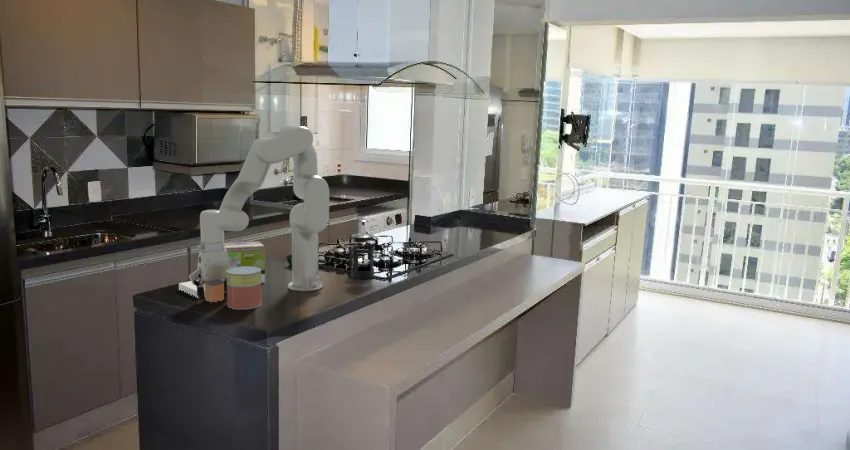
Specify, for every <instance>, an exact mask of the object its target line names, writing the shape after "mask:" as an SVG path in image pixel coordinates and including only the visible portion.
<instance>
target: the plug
mask: <svg viewBox="0 0 850 450" xmlns="http://www.w3.org/2000/svg"><path fill="white" fill-rule="evenodd" d="M204 284H205V297H204V299H205V301H206V302H208V301H209V302H208V303H210V302H215V303H218V302H217V301H220V302H223V301H222V300H224V301H225V296H224V294H225V293H224V286H223V284H224V281H223V280H214V281H208V282H207V281H206V282H205V283H204Z"/></svg>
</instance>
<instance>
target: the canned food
mask: <svg viewBox="0 0 850 450" xmlns="http://www.w3.org/2000/svg"><path fill="white" fill-rule="evenodd" d="M226 272H227V293H226V296H227V299H226V302H227V303H226V305H227V308H229V309H231V308H232V310H240V311H241V310H243V311H244V310H245V311H246V310H252V309H253V310H254V309H257V308H259V307H261V306H262V304H263V302H262V283H261V269H260V268H258V267H253V266H240V267H233V268H230V269H227V270H226Z"/></svg>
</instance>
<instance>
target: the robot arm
mask: <svg viewBox="0 0 850 450" xmlns="http://www.w3.org/2000/svg"><path fill="white" fill-rule="evenodd" d="M313 142H314V135H313V133H312V131H311V130H310V129H309V128H307V127H305V126H301V125H294V124H292V125H291V124H289V125H288V124H287V125H285V126H282V127H281V128H280V129H279V132H278V135H277V136H274V137H272V138H269V137H260V138H258V139H255V140H254V141H253V143H252V145H251V147H250V149H249V151H248V154H247V156H246V159H245V160H244V162H243V165H242V166H241V167H242V168H241V169H240V172H239V175H238V177H237V178H236V179H235V181H234V182H233V183H232V185H231V186H230V187H229V189H228V190H227V191H226V193H225V195H224V197H223V200H222V202H221V204H220V207H219V209H206V210H202V211H201V212H200V214H199V223H200V225H199V226H200V244H198V245H197V249H198V250H200V251H199V252H198V258H197V268H196V270H194V271H193V272H192V273H190V274H189V275H188V278H189V281H192V283H193V284H195V286H197V295H198V297H199V298H198V299H202V300H203V299H205V297H204V287H202V286H203V285H204V283H205V282H206V281H207V282H208V281H214V280H220V279H225V281H224V292H226V293H225V294H227V272H226V270H227V269H230V268H233V266H231V265H230V262H229V256H228V252H227V249H224V243H225V232H241V231H243V230H245V229H246V228H247V227H248V226H249V221H250V220H249V219H250V218H249V215H248V214H247V213H246V212H245V211H244V210H242V209H243V208H244V205H245V203H246V201H247V200H248V198H250V196H251V195H252V194H254V193H255V192H257V191H258V190H259V189H261V188H262V187H263V185H264V182H265V180H266V178H267V175H268V173H269V171H270V168H271V167H272V165H275V164H279V163H281V162H284V161H287V160H288V159H291V158H292V162H293V181H292V182H293V185H292V187H293V189H292V190H293V193H294V195H295V197H297V198H298V199H301V200H303V202H300V203H297V204H295V205H294V206H293V207H292V208H291V210H290V213H289V224H290V231H291V254H292V266H291V269H292V281H291V282H289V283H288V285H287V288H288V289H289V290H291V291H294V292H295V291H296V292H312V291H317V290H320V289H322V288H323V286H324V285H323V284H324V283H323V281H322V280H320V276H319V269H318V264H319V263H318V259H319V234H318V233H321V232H322V231H324V230H325V229H326V228H327V226H328V223H329V217H330V187H329V184H328V183H327V181H326V180H325V179H324V178H323V177H321V176H319V174H318V173H319V172H318V170H319V169H318V156H317V152H316V149H315V147H314V145H313ZM196 277H197V278H198V279H196Z"/></svg>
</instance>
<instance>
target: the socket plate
mask: <svg viewBox="0 0 850 450" xmlns="http://www.w3.org/2000/svg"><path fill="white" fill-rule="evenodd" d="M220 280H222V279H220ZM223 281H224V280H223ZM223 286H224V284H223ZM202 287H204V298H205V284H204V285H203V286H202ZM178 290H179V291H180V290H181V292H182V291H184V292H183V293H185V292H186V293H185V294H187V293H188V294H187V295H189V294H190V295H189V296H192V295H193V296H192V297H194V296H195V297H194V298H196V297H197V298H196V299H200V298H199V297H198V295H197V286H195V284H193V283H192V281H191V280H189V281H184V282H179V283H178ZM224 294H227V293H226V292H224Z"/></svg>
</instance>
